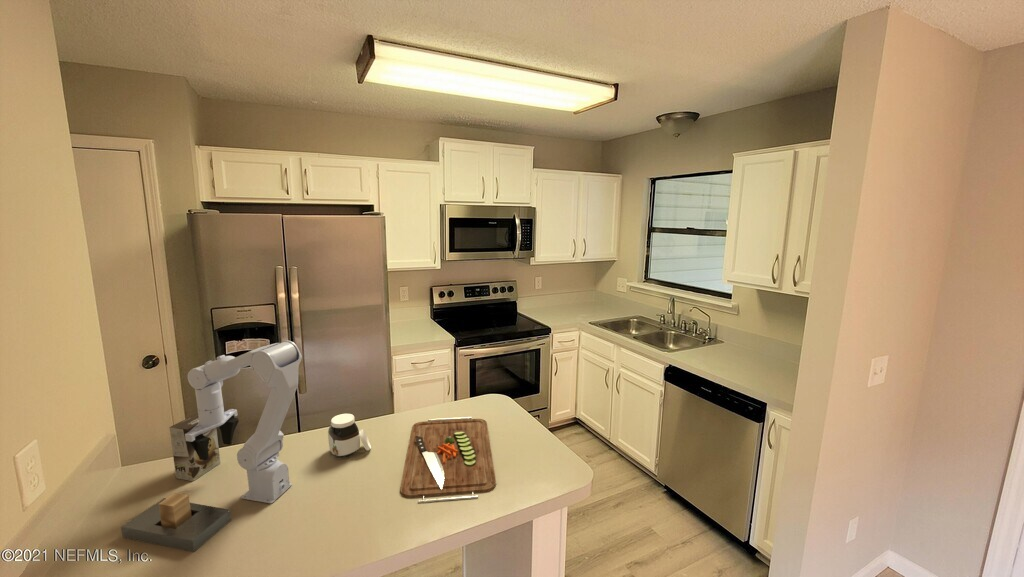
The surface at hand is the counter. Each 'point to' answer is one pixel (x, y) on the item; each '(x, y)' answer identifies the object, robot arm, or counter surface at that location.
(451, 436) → the chopping board
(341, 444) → the spread jar
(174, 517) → the square peg
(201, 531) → the grey peg hole board
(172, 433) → the coffee box
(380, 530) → the counter surface
